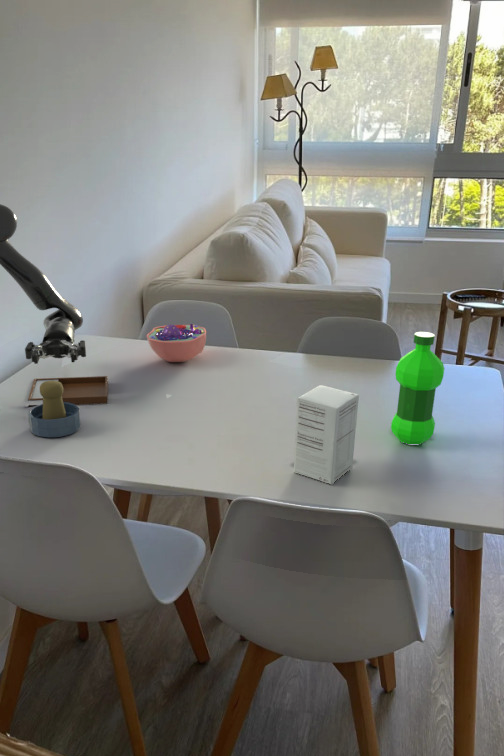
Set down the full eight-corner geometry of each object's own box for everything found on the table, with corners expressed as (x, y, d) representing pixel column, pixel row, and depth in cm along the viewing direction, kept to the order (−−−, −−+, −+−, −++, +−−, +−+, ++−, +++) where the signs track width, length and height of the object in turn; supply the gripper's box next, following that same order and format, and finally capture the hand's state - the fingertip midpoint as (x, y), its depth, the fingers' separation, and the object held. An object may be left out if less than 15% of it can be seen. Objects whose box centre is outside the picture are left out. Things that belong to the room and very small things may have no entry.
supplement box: (315, 457, 152) (320, 383, 145) (353, 468, 148) (360, 393, 140) (291, 473, 145) (295, 396, 138) (331, 486, 141) (337, 407, 133)
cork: (40, 433, 160) (35, 387, 155) (43, 422, 165) (38, 378, 160) (68, 431, 161) (63, 386, 156) (70, 421, 166) (65, 377, 161)
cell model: (220, 355, 215) (220, 319, 210) (181, 373, 199) (180, 334, 194) (175, 346, 223) (174, 310, 218) (134, 362, 207) (132, 325, 202)
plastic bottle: (378, 438, 162) (390, 332, 151) (410, 428, 168) (423, 325, 157) (411, 454, 155) (426, 344, 144) (443, 443, 160) (459, 336, 150)
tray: (28, 407, 175) (27, 399, 174) (34, 385, 188) (34, 378, 187) (107, 403, 178) (107, 396, 177) (108, 382, 191) (107, 375, 190)
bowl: (28, 440, 157) (25, 421, 155) (33, 420, 167) (31, 402, 165) (79, 437, 159) (77, 419, 157) (81, 418, 169) (80, 400, 167)
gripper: (28, 325, 179) (21, 344, 164) (86, 324, 181) (83, 342, 167) (32, 354, 182) (25, 375, 168) (88, 352, 184) (86, 372, 170)
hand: (54, 359), depth 167 cm, fingers open, 8 cm apart
